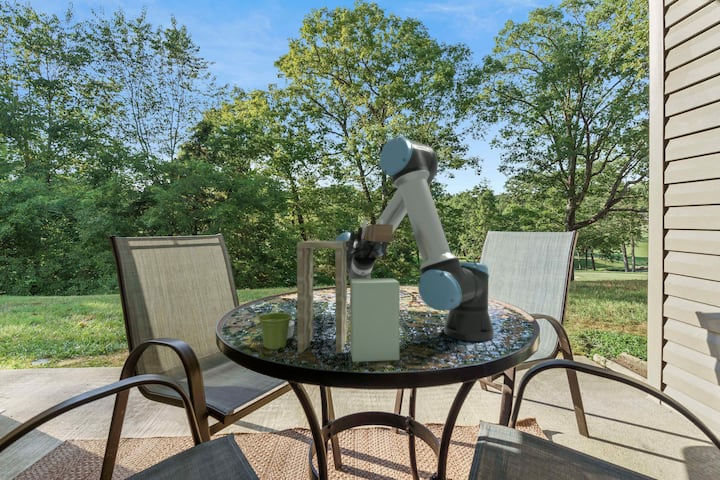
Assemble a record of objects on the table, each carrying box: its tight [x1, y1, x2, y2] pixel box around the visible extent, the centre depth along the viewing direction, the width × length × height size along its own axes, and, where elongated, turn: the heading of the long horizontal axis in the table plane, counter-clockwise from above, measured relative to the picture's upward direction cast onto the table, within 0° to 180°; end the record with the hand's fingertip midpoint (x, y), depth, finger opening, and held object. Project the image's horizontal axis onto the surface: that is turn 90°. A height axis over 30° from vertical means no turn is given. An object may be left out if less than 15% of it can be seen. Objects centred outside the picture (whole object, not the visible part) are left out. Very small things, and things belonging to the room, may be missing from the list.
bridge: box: [296, 240, 348, 354], centre depth 103 cm, size 14×12×30 cm
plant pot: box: [257, 312, 293, 350], centre depth 102 cm, size 9×9×9 cm
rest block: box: [349, 277, 400, 363], centre depth 94 cm, size 12×8×20 cm, turn 96°
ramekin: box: [287, 319, 295, 340], centre depth 112 cm, size 9×9×4 cm
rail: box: [363, 223, 394, 243], centre depth 94 cm, size 24×4×4 cm, turn 7°
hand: (373, 223), depth 98 cm, fingers closed on rail, 4 cm apart
